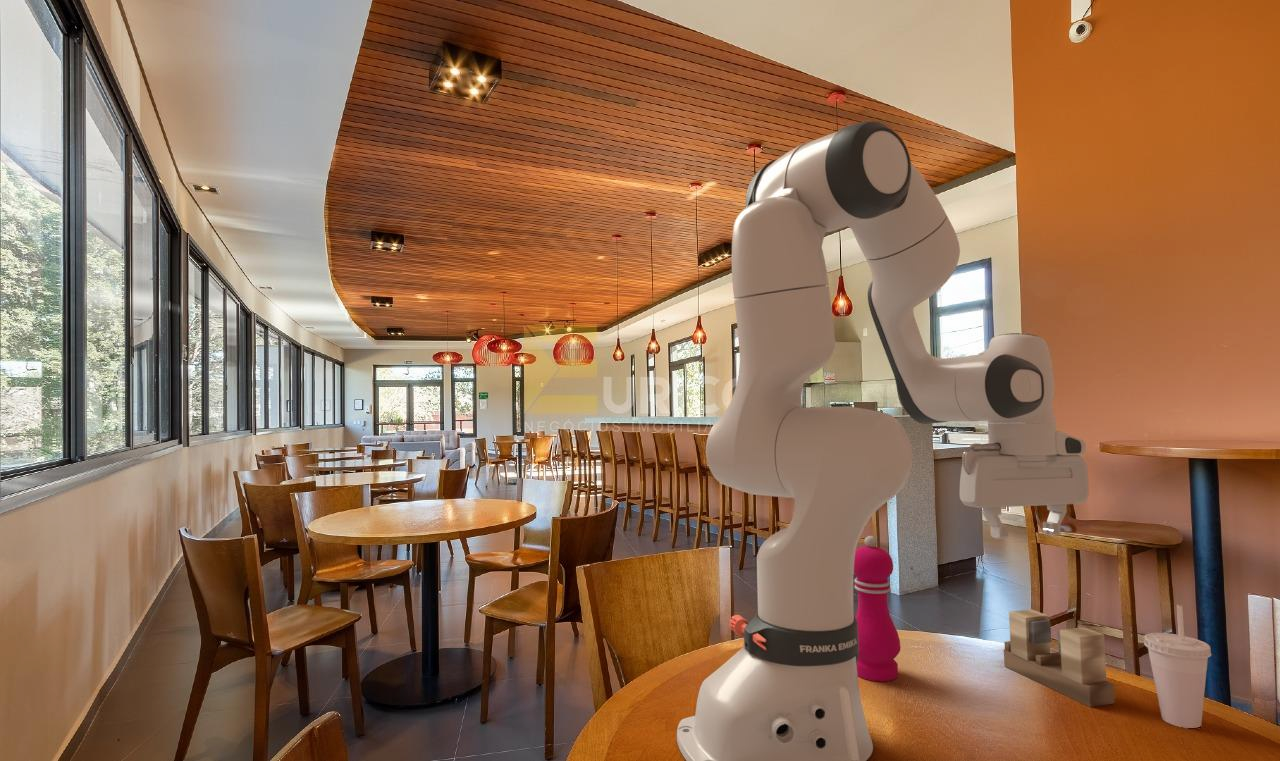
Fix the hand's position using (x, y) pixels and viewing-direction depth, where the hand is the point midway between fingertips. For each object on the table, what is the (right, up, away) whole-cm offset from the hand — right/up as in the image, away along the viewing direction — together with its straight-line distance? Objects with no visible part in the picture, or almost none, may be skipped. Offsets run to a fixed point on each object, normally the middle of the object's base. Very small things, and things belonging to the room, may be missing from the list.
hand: (1025, 536), depth 95 cm
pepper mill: (-23, -20, -1) cm, 30 cm away
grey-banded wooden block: (0, -17, -1) cm, 17 cm away
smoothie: (+9, -19, -17) cm, 27 cm away
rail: (+1, -19, -5) cm, 20 cm away
